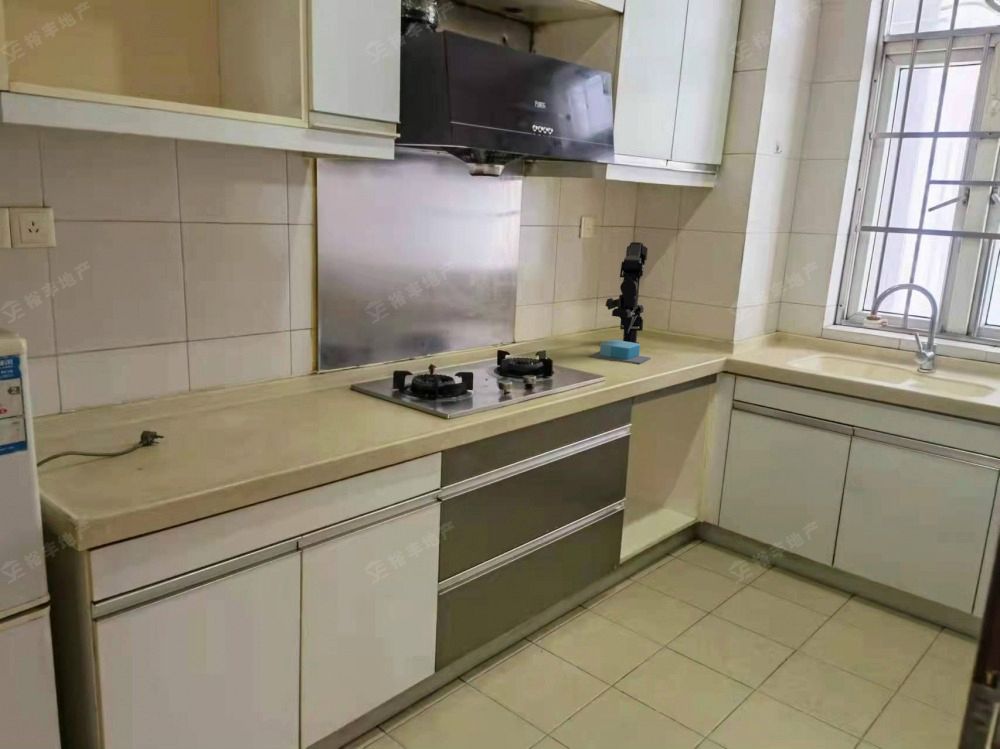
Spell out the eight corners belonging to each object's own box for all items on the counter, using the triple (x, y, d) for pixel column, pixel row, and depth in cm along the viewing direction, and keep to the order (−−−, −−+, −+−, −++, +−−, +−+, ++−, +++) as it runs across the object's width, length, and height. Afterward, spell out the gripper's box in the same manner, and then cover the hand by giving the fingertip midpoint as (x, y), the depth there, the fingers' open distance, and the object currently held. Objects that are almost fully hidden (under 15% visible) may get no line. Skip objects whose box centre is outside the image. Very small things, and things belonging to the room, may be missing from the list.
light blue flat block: (612, 350, 295) (598, 355, 286) (613, 339, 294) (599, 343, 285) (640, 355, 289) (626, 360, 279) (641, 343, 288) (627, 348, 278)
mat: (601, 351, 295) (601, 350, 295) (650, 359, 286) (650, 357, 286) (589, 356, 285) (589, 355, 285) (639, 364, 276) (640, 362, 276)
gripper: (618, 288, 295) (615, 327, 299) (600, 292, 279) (597, 333, 283) (645, 291, 290) (642, 330, 294) (628, 295, 274) (625, 337, 278)
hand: (626, 333), depth 287 cm, fingers closed
